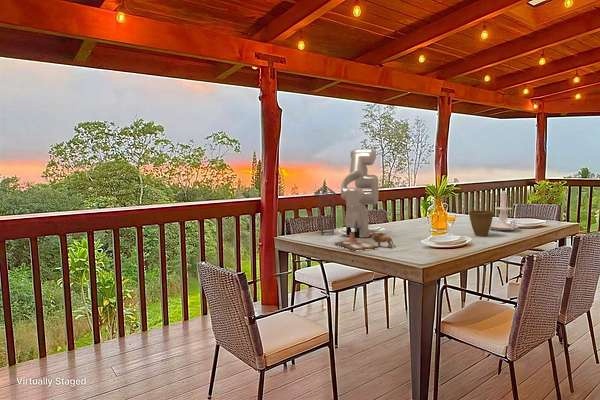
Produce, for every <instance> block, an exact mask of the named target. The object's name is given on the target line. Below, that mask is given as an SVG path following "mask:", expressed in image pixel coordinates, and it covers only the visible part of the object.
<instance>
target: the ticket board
mask: <svg viewBox="0 0 600 400" xmlns="http://www.w3.org/2000/svg"><path fill="white" fill-rule="evenodd" d="M349 241H350V240H343V241H335V242H334V245H335V244H336V245H335V246H337V245H339V246H338V247H340V246H341V247H340V248H342V247H344V248H343V249H345V248H347V249H350V250H353V251H356V250H365V249H374V250H376V249H375V248H378V249H379V247H378V245H374V244H371V243H368V242H365V241H363V242H364V243H356V244H348V245H346V244H343V242H349ZM347 249H346V250H347ZM350 250H349V251H350ZM353 251H352V252H353Z"/></svg>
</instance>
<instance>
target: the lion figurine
mask: <svg viewBox="0 0 600 400" xmlns="http://www.w3.org/2000/svg"><path fill="white" fill-rule="evenodd" d="M371 239H372V240H373V241H374V242H375V243H377V246H378V248H380V246H381V243H384V244H385V243H387V244H388V245H387V248H389V249H393V247H394V248H396V247H397V246H396V245H395V244H394V241H393V238H392V237H390V236H383V235H382V234H380V233H378V232H376V231H374V232H371Z"/></svg>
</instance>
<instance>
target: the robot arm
mask: <svg viewBox="0 0 600 400" xmlns="http://www.w3.org/2000/svg"><path fill="white" fill-rule="evenodd" d="M376 158H377V152H376V149H374V148H357V149H352V150H351V151H350V167H349V169H350V170H349V173H348V175H346V176H345V178H344V179H343V180H342V183H341V187H340V189H341V190H340V198H341V199H343V200H345V202H346V203H345V205H346V207H345V208H346V210H345V221H344V225H345V226H344V227H345V229H346V232H345V233H346V236H349V237H350V232H352V229H354V231H353V232H354V236H355V238H356V239H359V238H361V239H362V238H369V237H372V233H373V232H375V229H370V228H369V210H368V208H367V207H366V206H367V205H373V206H374V205H377V204H379V178H378V175H376V174H368V167H367V166H372V165H374V163H375V161H376ZM353 182H354V184H355V187H348V185H349V184H351V183H353ZM367 189H369V190H367Z"/></svg>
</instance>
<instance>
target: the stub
mask: <svg viewBox="0 0 600 400" xmlns="http://www.w3.org/2000/svg"><path fill="white" fill-rule="evenodd" d="M348 241H349V242H343V244H346V245H348V244H356V243H364V242H365V241H363V240H360V239H357V238H355V236H354V231H351V232H350V235H349V240H348Z"/></svg>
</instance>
